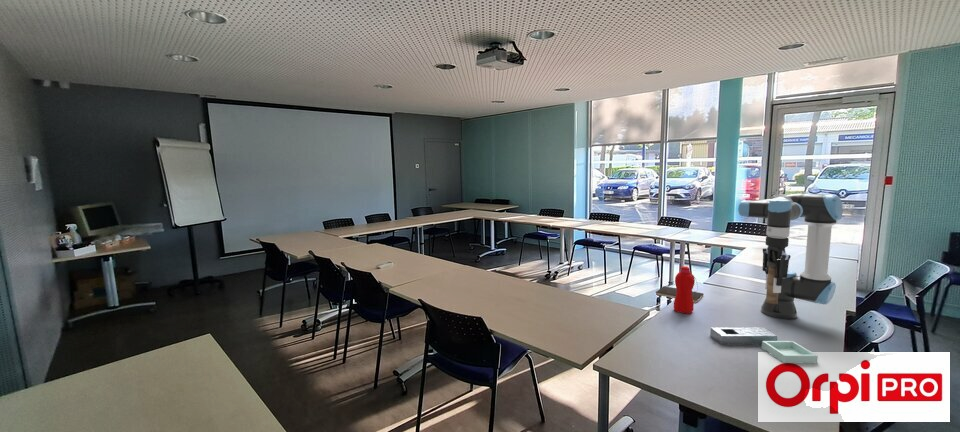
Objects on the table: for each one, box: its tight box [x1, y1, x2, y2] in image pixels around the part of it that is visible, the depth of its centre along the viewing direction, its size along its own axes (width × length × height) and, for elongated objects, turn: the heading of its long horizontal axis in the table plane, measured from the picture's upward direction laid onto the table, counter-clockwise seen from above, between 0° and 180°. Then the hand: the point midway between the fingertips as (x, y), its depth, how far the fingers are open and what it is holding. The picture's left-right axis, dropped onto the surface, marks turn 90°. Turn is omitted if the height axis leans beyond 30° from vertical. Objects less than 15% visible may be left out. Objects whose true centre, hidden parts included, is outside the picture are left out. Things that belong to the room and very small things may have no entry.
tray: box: [761, 340, 819, 364], centre depth 160 cm, size 13×13×3 cm
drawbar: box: [709, 326, 778, 346], centre depth 174 cm, size 24×9×4 cm, turn 87°
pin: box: [765, 261, 778, 304], centre depth 161 cm, size 5×5×18 cm
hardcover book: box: [655, 285, 705, 304], centre depth 235 cm, size 16×23×2 cm
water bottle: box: [673, 265, 699, 315], centre depth 208 cm, size 9×11×25 cm
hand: (772, 290), depth 161 cm, fingers closed on pin, 4 cm apart
